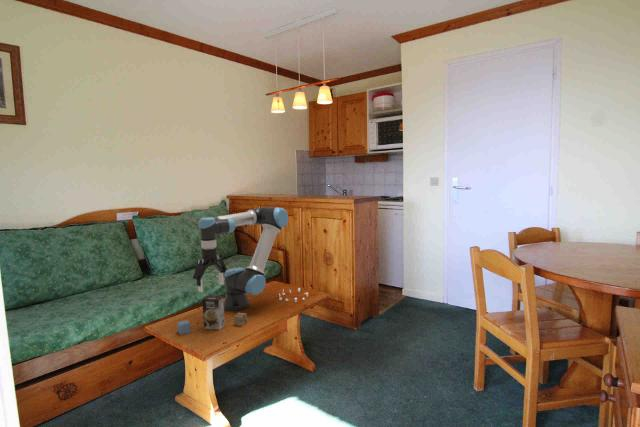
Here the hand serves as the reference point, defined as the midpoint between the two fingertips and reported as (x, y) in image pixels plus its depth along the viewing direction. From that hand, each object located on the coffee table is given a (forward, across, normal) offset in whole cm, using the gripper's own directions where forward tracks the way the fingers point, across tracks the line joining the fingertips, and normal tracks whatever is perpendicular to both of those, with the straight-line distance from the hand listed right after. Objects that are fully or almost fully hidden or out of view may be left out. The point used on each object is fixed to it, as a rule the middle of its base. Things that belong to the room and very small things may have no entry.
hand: (211, 288), depth 192 cm
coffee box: (+21, 0, 0) cm, 21 cm away
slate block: (+21, +12, -9) cm, 26 cm away
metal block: (+21, -10, +9) cm, 25 cm away
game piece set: (+21, -57, +8) cm, 62 cm away
